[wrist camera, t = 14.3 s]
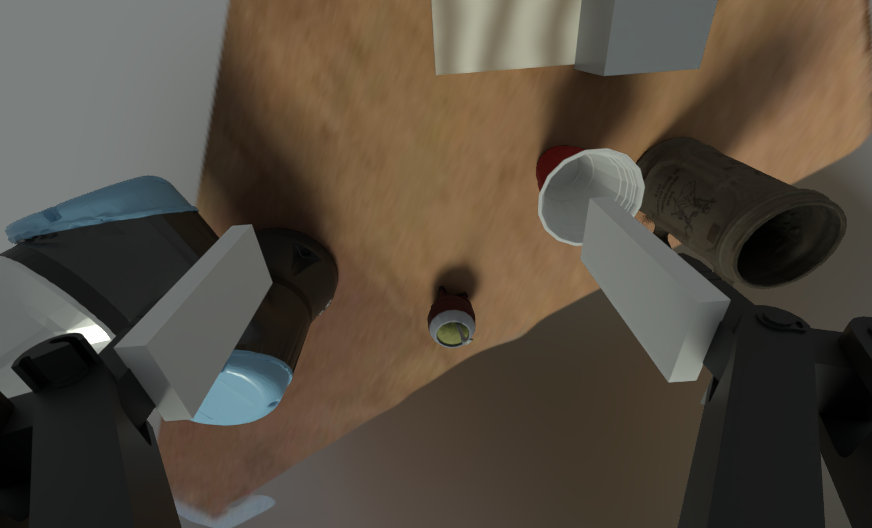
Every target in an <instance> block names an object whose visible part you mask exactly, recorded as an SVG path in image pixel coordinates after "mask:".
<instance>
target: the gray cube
mask: <svg viewBox="0 0 872 528" xmlns="http://www.w3.org/2000/svg"><path fill="white" fill-rule="evenodd" d="M716 4H717V0H582V1H581V10H580V19H579V28H578V37H577V46H576V55H575V64H574V69H575V70H580V71H584V72H588V73H593V74H597V75H601V76H611V75H624V74H636V73H649V72H662V71H675V70H687V69H699V68H700V64H701V60H702V57H703V53H704V49H705V45H706V42H707V38H708V34H709V30H710V27H711V23H712V19H713V15H714V12H715V8H716Z"/></svg>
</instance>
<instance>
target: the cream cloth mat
mask: <svg viewBox="0 0 872 528" xmlns="http://www.w3.org/2000/svg"><path fill="white" fill-rule="evenodd" d="M581 1H582V0H431V7H432V24H433V40H434V57H435V73H436V75H444V74H457V73H469V72H482V71H495V70H507V69H520V68H533V67H545V66H558V65H571V64H575V55H576V46H577V37H578V28H579V19H580V10H581Z"/></svg>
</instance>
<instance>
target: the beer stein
mask: <svg viewBox="0 0 872 528" xmlns="http://www.w3.org/2000/svg"><path fill="white" fill-rule="evenodd" d="M636 165H637V166H638V167H639V168H640V170H641V174H642V178H643V181H644V185H645V189H644V194H643V199H642V204H641V207H640V209H639V211H641V212H643V213H645V214H647V215H648V217H649V219H650V220H651V221H653V222H654V224H655V230H654V232H653V234H654V235H655V236H657V237H658V238H659V239H660V240H661V241H662V242H664V243H665V244H666V245H667V246H668V247H669V248H671V246H670V244H669V242H668V234H669V233H670V234H671V235H673V236H674V237H675V238H676V239H678V240H679V241H680V242H681V243H682V244H684V245H685V246H686V247H688V248H690V249H691V250H693V251H694V252H696V253H697V254H699V255H700V256H702V257H704V258H705V259H706V260H708V261H709V262H710V263H711V264H712V265H713V266H714V272H715V273H716V274H717V275H718V276H720V277H721V278H722V280H725V281H726V282H727V283H728V284H729V285H731V286H733V284H734V282H735V281H736V282H738V283H740V284H742V285H744V286H747V287H750V288H757V289H770V288H776V287H781V286H783V285H786V284H789V283H792V282H794V281H797V280H799V279H801V278H803V277H805V276H807V275H808V274H809V273H811V272H812V271H814V270H815V269H816V268H818V267H819V266H820V265H821V264H823V263H824V262H825V261H826V260H827V259H828V258H829V257H830V256H831V255H832V254H833V253H834V251H835V250H836V249H837V247H838V245H839V244H840V242H841V240H842V238H843V237H844V235H845V231H846V226H847V225H846V217H845V214H844V212H843V210H842V209H841V208H840V207H839V206H838V205H837V204H836V203H834V202H832V201H830V199H829V198H828V197H827V196H825V195H824V194H822V193H819V192H817V191H814V190H809V189H798V188H796V187H794V186H791V185H789V184H787V183H785V182H782V181H780V180H778V179H776V178H774V177H771V176H769V175H767V174H765V173H763V172H760V171H758V170H756V169H754V168H752V167H750V166H748V165H746V164H744V163H742V162H740V161H737V160H735V159H733V158H731V157H728V156H726V155H724V154H722V153H720V152H719V151H718V150H716V149H715V148H713V147H711V146H708V145H705V144H703V143H701V142H700V141H698V140H695V139H692V138H685V137H682V138H674V139H670V140H667V141H664V142H662V143H660V144H658V145H656V146H654V147H653V148H651V149H650V150H649V151H648V152H647V153H645V154H644V155H643V156H642V157H641V159H640V160H639V161H638V162H637V164H636Z"/></svg>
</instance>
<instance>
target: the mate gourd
mask: <svg viewBox="0 0 872 528" xmlns="http://www.w3.org/2000/svg"><path fill="white" fill-rule="evenodd" d="M439 291H440V298H439V299H438V300H437V301H436V302H435V303H434V304H433V305H432V306H431V310H430V312H429V315H428V328H429V331H430V335H431V336H432V337H433V339H434V340H435V341H436V342H437V343H439V344H440V345H442V346H444V347H448V348H456V347H460V346H462V345H466V344H469V343H470V342H471V341H472V340H473V339H471V337H472V335H473V333H474V331H475V314H474V311H473V308H472V305H471V303H470V301H469V300H468V299H467V297H468V295H467V293H466V292H463V293H461V294H458V295H456V296H455V295H448V293H447V292H446V290H445V288H444V287H443V286H441V287H439Z"/></svg>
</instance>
